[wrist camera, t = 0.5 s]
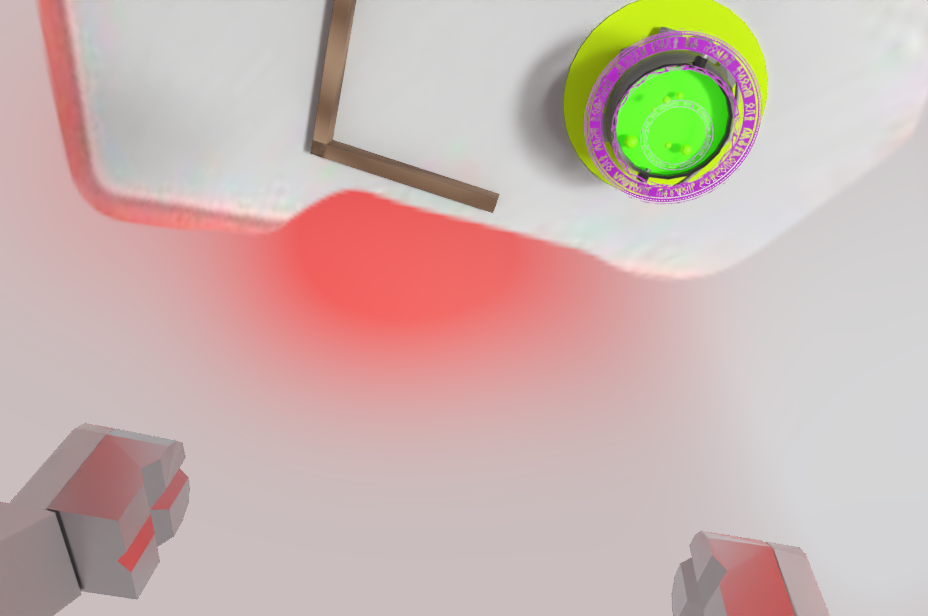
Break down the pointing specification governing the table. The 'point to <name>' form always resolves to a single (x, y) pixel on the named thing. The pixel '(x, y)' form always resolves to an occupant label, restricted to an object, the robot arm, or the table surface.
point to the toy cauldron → (666, 97)
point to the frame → (364, 159)
